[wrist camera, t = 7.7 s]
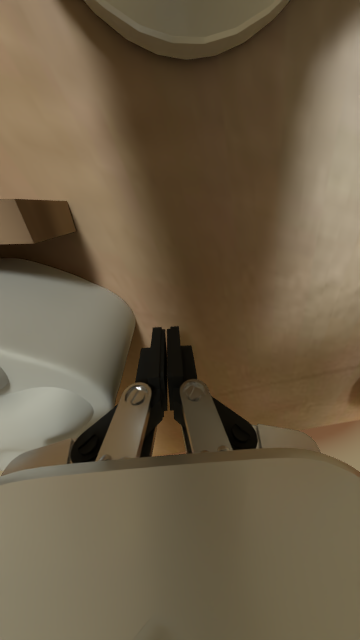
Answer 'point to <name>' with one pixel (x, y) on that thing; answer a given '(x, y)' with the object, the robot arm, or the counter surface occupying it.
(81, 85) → the counter surface
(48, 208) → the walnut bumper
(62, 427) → the lumpy-topped squat cylinder
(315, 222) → the counter surface
